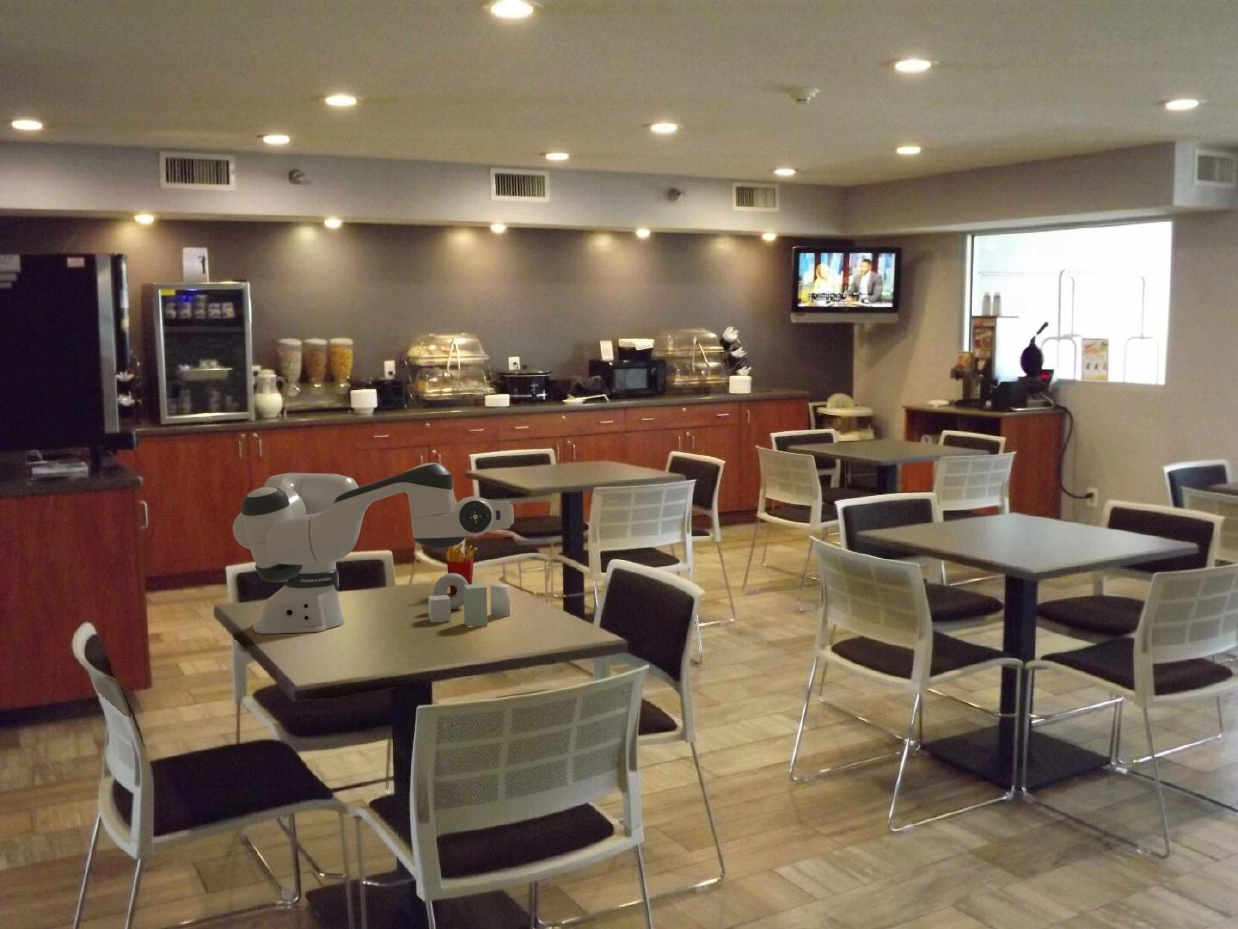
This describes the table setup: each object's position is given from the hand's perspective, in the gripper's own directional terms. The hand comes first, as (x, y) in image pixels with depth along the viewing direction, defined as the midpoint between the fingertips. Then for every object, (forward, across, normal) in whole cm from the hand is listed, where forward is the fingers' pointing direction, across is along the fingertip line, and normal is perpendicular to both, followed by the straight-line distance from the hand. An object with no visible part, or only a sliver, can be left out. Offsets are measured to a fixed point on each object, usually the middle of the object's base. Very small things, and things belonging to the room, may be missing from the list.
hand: (469, 515), depth 280 cm
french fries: (+57, 0, -24) cm, 62 cm away
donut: (+38, -4, -26) cm, 47 cm away
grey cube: (+27, -7, -27) cm, 39 cm away
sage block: (+20, +2, -28) cm, 35 cm away
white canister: (+29, +9, -27) cm, 41 cm away
